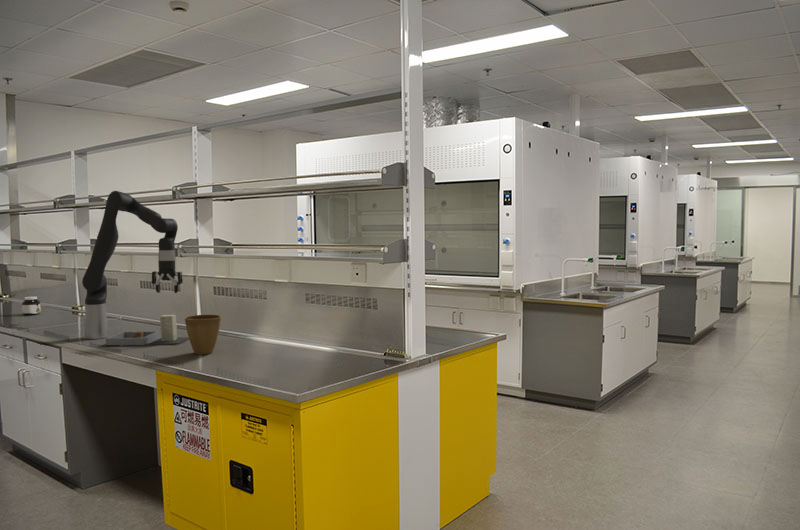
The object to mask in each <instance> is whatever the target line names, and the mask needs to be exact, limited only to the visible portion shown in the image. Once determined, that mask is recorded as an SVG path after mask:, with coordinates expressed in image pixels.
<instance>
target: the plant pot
mask: <svg viewBox="0 0 800 530" xmlns="http://www.w3.org/2000/svg"><path fill="white" fill-rule="evenodd" d="M221 320H222V316H221V315H219V314H196V315H189V316H185V317H184V322H185V327H186V332H187V337H189V340H188V341H189V343H190V345H191V347H192V350H193V352H194V354H195V355H200V356H201V355H203V354H204V355H210V354H212V353H213V352H214V349H215V346H216V343H217V340H218V336H219V331H220V326H221Z"/></svg>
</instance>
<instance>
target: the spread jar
mask: <svg viewBox="0 0 800 530" xmlns="http://www.w3.org/2000/svg"><path fill="white" fill-rule="evenodd" d="M41 311H42V309H41V301H40V300H38V296H25V297H24V301H22V303H21V313H22V314H23V315H24V316H25V317H27V316H28V317H30V316H37V315H40V313H41Z"/></svg>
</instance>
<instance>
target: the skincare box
mask: <svg viewBox="0 0 800 530" xmlns="http://www.w3.org/2000/svg"><path fill="white" fill-rule="evenodd" d="M159 321H160V336H161V337H160V338H161V340H162V341H174V340H176V339H177V337H178V327H177V315H176V314H163V315H160V316H159Z"/></svg>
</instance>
